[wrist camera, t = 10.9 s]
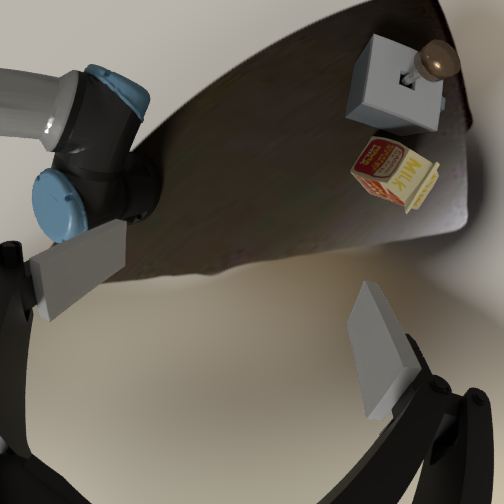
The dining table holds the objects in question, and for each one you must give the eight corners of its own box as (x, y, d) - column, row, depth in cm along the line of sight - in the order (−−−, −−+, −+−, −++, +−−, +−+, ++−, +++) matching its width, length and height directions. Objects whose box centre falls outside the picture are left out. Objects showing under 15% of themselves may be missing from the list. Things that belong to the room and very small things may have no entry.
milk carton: (372, 136, 42) (418, 124, 24) (410, 167, 43) (469, 176, 24) (345, 176, 46) (377, 188, 27) (384, 206, 46) (432, 235, 27)
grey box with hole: (344, 117, 42) (363, 101, 29) (354, 64, 38) (373, 33, 25) (410, 140, 41) (448, 136, 28) (418, 88, 37) (454, 70, 24)
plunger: (354, 111, 40) (406, 72, 18) (362, 71, 38) (410, 10, 15) (397, 126, 40) (474, 107, 17) (403, 86, 37) (475, 45, 14)
